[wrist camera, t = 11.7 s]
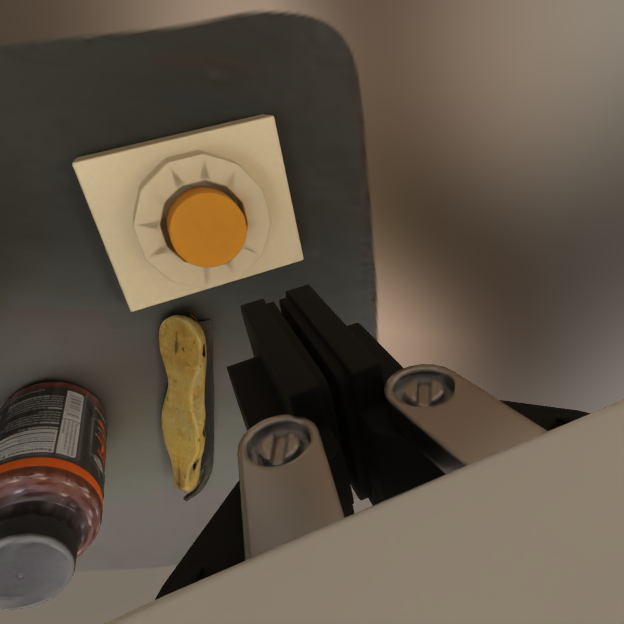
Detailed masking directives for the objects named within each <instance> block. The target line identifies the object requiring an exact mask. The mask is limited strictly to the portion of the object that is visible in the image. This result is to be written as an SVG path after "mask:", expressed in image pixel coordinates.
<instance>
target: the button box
mask: <svg viewBox="0 0 624 624" xmlns="http://www.w3.org/2000/svg"><path fill="white" fill-rule="evenodd" d="M72 165H73V168H74V170H75V173H76V175H77V178H78V180H79V183H80V185H81V188H82V190H83V193H84V195H85V198H86V200H87V203H88V205H89V208H90V211H91V213H92V216H93V218H94V221H95V223H96V226H97V228H98V231H99V233H100V236H101V238H102V241H103V243H104V246H105V248H106V251H107V253H108V256H109V258H110V261H111V263H112V266H113V269H114V271H115V274H116V276H117V279H118V281H119V284H120V286H121V289H122V291H123V294H124V296H125V299H126V301H127V304H128V306H129V309H130V311H131V312H133V311H137V310H140V309H143V308H146V307H150V306H153V305H156V304H160V303H163V302H166V301H170V300H173V299H176V298H179V297H183V296H186V295H189V294H193V293H196V292H199V291H202V290H206V289H209V288H212V287H216V286H219V285H222V284H226V283H229V282H232V281H235V280H239V279H242V278H245V277H249V276H252V275H255V274H259V273H262V272H265V271H268V270H272V269H275V268H278V267H282V266H285V265H288V264H291V263H295V262H298V261H301V260H303V254H302V249H301V244H300V239H299V234H298V230H297V225H296V220H295V215H294V210H293V206H292V201H291V196H290V191H289V186H288V182H287V177H286V172H285V167H284V162H283V158H282V153H281V148H280V143H279V138H278V134H277V129H276V124H275V119H274V116H271V115H265V114H261V115H257V116H252V117H248V118H244V119H240V120H235V121H231V122H227V123H222V124H218V125H214V126H210V127H205V128H201V129H197V130H192V131H188V132H184V133H180V134H175V135H171V136H167V137H162V138H158V139H154V140H150V141H145V142H141V143H137V144H132V145H128V146H124V147H120V148H115V149H111V150H107V151H103V152H98V153H94V154H90V155H85V156H81V157H77V158H76V159H75V160H74V162H73V163H72ZM200 186H206V187H212V188H215V189H218V190H220V191H222V192H224V193H225V194H226V195H228V196H229V197H230V198H231V199H232V200H233V201H234V202H235V203H236V204H237V205H238V207H239V208H240V209H241V211H242V213H243V215H244V217H245V220H246V226H247V233H246V239H245V242H244V245H243V247H242V249H241V250H240V252H239V253H238V254H237V255H236V256H235V257H234V258H233V259H232V260H230V261H229V262H227V263H225V264H223V265H220V266H217V267H210V268H208V267H199V266H195V265H193V264H190V263H189V262H187V261H185V260H184V259H183V258H182V257H181V256H180V255H179V254H178V253H177V252H176V250H175V249H174V247H173V245H172V243H171V240H170V236H169V233H168V229H167V214H168V211H169V208H170V206H171V204H172V203H173V201H174V200H175V199H176V198H177V197H178V196H179V195H180V194H181V193H183V192H184V191H186V190H188V189H191V188H194V187H200Z"/></svg>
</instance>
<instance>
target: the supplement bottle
mask: <svg viewBox="0 0 624 624" xmlns="http://www.w3.org/2000/svg"><path fill="white" fill-rule="evenodd" d="M106 439H107V423H106V415H105V412H104V409H103V407H102V405H101V404H100V402H99V401H98V400H97V399H96V397H95V396H94V395H93V394H91V393H90V392H89V391H87V390H85V389H84V388H81V387H79V386H77V385H74V384H70V383H66V382H58V381H57V382H44V383H38V384H35V385H31V386H28V387H26V388H24V389H22V390H20V391H18V392H17V393H15V394H14V395H13V396H12V397H11V398H10V399H9V400H8V401H7V402H6V403H5V404H4V405H3V407H2V408H1V410H0V609H2V610H4V609H7V610H16V609H23V608H28V607H32V606H37V605H39V604H41V603H44V602H46V601H48V600H49V599H52V598H54V597H55V596H56V595H58V594H59V593H60V592H61V591H62V590H63V589H64V588H65V587H66V586H67V585H68V583H69V582H70V580H71V578H72V576H73V573H74V570H75V564H76V558H77V557H79V556H80V555H81V554H82V553H83V552H84V551H85V550H86V549H87V548H88V547H89V546H90V545H91V543H92V542H93V540H94V539H95V537H96V535H97V533H98V530H99V528H100V525H101V521H102V512H103V499H104V481H105V475H104V472H105V458H106Z"/></svg>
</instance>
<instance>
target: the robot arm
mask: <svg viewBox="0 0 624 624" xmlns="http://www.w3.org/2000/svg"><path fill="white" fill-rule="evenodd" d="M279 302H280V308H281V312H282V313H281V312H280V311H279V309H278V308H277V306H276V305H275V303H274V302H271V303H268V304H266V303H265V301H264V300H263V299H260V300H257V301H254V302H251V303H248V304H244V305H241V312H242V315H243V319H244V322H245V326H246V330H247V333H248V337H249V340H250V344H251V347H252V351H253V354H254V358H252V359H249V360H246V361H243V362H240V363H237V364H234V365H231V366H228V367H227V370H228V373H229V376H230V380H231V383H232V386H233V389H234V392H235V395H236V399H237V402H238V405H239V408H240V411H241V414H242V417H243V420H244V423H245V426H246V429H247V432H246V433H245V434H244V436H243V437H242V439H241V441H240V443H239V446H238V466H239V481H238V483H237V484H236V485H235V487H234V488H233V489H232V491H231V492H230V494H229V495H228V496H227V498H226V499H225V501H224V502H223V503H222V505H221V506H220V507H219V509H218V510H217V512H216V513H215V514H214V516H213V517H212V518H211V520H210V521H209V523H208V524H207V525H206V527H205V528H204V530H203V531H202V532H201V534H200V535H199V536H198V538H197V539H196V541H195V542H194V543H193V545H192V546H191V547H190V549H189V550H188V552H187V553H186V554H185V556H184V557H183V559H182V560H181V561H180V563H179V564H178V565H177V567H176V568H175V570H174V571H173V572H172V574H171V575H170V576H169V578H168V579H167V581H166V582H165V583H164V585H163V587H162V588H161V590H160V592H159V593H158V595H157V597H156V599H155V600H154V601H152V602H150V603H148V604H146V605H144V606H142V607H140V608H137V609H135V610H133V611H131V612H129V613H127V614H125V615H123V616H121V617H118V618H116V619H114V620H112V621H110V622H108V623H106V624H624V400H622V401H620V402H617V403H615V404H612V405H610V406H608V407H605V408H603V409H601V410H598V411H596V412H594V413H586V412H582V411H577V410H570V409H562V408H555V407H547V406H540V405H532V404H525V403H517V402H510V401H502V400H498V399H496V398H495V397H493V396H492V395H490V394H489V393H487V392H485V391H484V390H482V389H481V388H479V387H478V386H476V385H474V384H473V383H471V382H470V381H468V380H467V379H465V378H463V377H462V376H460V375H459V374H457V373H456V372H454V371H452V370H450V369H448V368H445V367H442V366H437V365H426V364H425V365H424V364H421V365H414V366H410V367H407V368H403V367H402V366H401V365H400V364H399V363H398V362H397V361H396V360H395V359H394V358H393V357H392V356H391V355H390V354H389V353H388V352H387V351H386V350H385V349H384V348H383V347H382V346H381V345H380V344H379V343H378V342H377V341H376V340H375V339H374V338H373V337H372V336H371V335H370V334H369V333H368V332H367V331H366V330H365V329H364V328H363V327H362V326H361V325H360V324H359V323H355V324H352V325H349V326H346V325H345V324H344V323H343V322H342V321H341V319H340V318H339V317H338V316H337V315H336V314H335V313H334V312H333V311H332V310H331V309H330V307H329V306H328V305H327V304H326V303H325V302H324V301H323V300H322V299H321V298H320V297H319V296H318V294H317V293H316V292H315V291H314V290H313V289H312V288H311V287H310V286H309V285H305V286H302V287H298V288H295V289H292V290H289V291H286V298H283V299H280V301H279ZM350 484H351V486H352V488H353V489H354V491H355V493H356V495H357V496H358V498H359V499H360V500H363V499H366V498H369V500H370V502H371V503H372V505H373V506H371V507H369V508H366V509H364V510H362V511H360V512H357V513H355V514H354V509H353V505H352V504H353V503H354V501H353V495H352V490H351V486H350Z"/></svg>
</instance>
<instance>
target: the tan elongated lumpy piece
mask: <svg viewBox="0 0 624 624" xmlns="http://www.w3.org/2000/svg"><path fill="white" fill-rule="evenodd" d="M159 345H160V352H161V356H162V359H163V362H164V366H165V369H166V373H167V377H168V389H167V393H166V397H165V400H164V404H163V408H162V414H161V423H162V431H163V435H164V440H165V444H166V447H167V450H168V453H169V456H170V459H171V463H172V469H173V475H174V484H175V486H176V487H178V488H179V489H181V490H182V491H185V492H188V491H190V490H192V489H194V488H195V487H196V485H197V483H198V481H199V477H200V471H201V470H202V469H203V468H204V467H205V469H204V471H205V472H204V475H203V478H202V480H201V481H200V483H199V484H198V486H197V487H196V488H195V489H194V490H193V491H192V492H190V493H189V494H187V495H186V496H185V497H184V500H185V501H188V500H189V499H190V498H192V497H194V496H196V495H197V494H198V493H200V492H201V490H202V489H203V488H204V486H205V485H206V483H207V481H208V479H209V477H210V474H211V471H212V465H213V450H214V447H213V444H214V384H213V353H212V346H213V342H212V328H211V321H210V320H207V321H203V322H197V316H196V314H195V313H194V312H193V311H190V318H189V317H186V316H183V315H173V316H170V317H168V318H167V319H165V320H164V321H163V322H162V324H161V326H160V329H159Z"/></svg>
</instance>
